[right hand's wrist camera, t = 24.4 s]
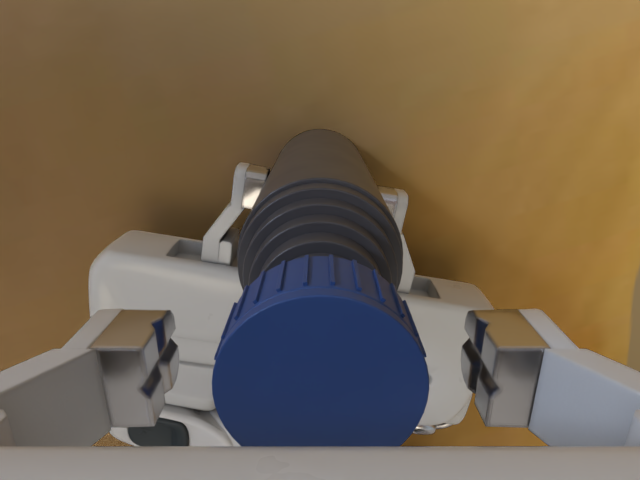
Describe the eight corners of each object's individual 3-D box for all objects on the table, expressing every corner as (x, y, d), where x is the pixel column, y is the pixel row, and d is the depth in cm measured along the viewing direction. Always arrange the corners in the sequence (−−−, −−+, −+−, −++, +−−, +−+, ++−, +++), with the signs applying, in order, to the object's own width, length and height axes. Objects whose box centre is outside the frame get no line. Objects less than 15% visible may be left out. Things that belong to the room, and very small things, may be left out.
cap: (428, 262, 9) (453, 303, 7) (396, 420, 11) (411, 485, 9) (231, 242, 9) (210, 281, 7) (225, 405, 10) (206, 469, 9)
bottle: (297, 112, 25) (247, 197, 7) (380, 153, 26) (507, 315, 8) (261, 195, 26) (150, 420, 9) (340, 231, 27) (375, 501, 10)
